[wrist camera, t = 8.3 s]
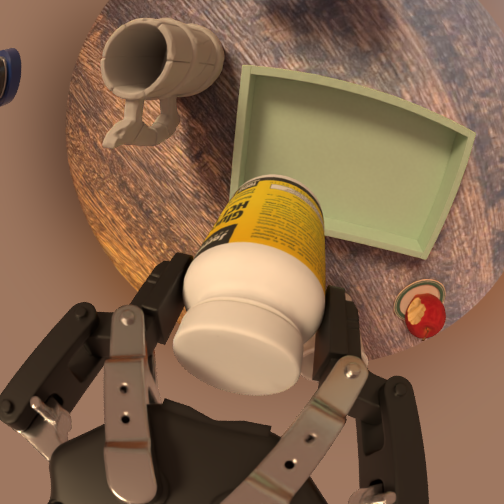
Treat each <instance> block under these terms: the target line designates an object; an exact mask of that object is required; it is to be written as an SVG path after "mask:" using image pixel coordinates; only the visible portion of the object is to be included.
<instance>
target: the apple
mask: <svg viewBox="0 0 504 504" xmlns="http://www.w3.org/2000/svg"><path fill="white" fill-rule="evenodd" d="M445 295H446V292H445V288H444V286H443V285H442V284H441V283H440V282H439V281H436V280H433V279H423V280H419V281H416V282H414V283H412V284H410V285H408V286H407V287H405V288H404V289H403V290H402V291H401V292H400V293H399V294H398V296H397V297H396V299H395V302H394V312H395V314H396V315H397V316H398V317H399V318H400V319H402V320H405V322H406V325H407V328H408V330H409V331H410V333H411V334H413V335H414V336H415V337H418V338H423V339H422V341H424V340H425V338H429V337H432V336H434V335H436V334H437V333H438V332H439V331H440V330H441V329H442V327H443V326H444V323H445V319H446V313H445V308H444V306H443V302H444V300H445Z"/></svg>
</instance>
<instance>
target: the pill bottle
mask: <svg viewBox="0 0 504 504" xmlns="http://www.w3.org/2000/svg"><path fill="white" fill-rule="evenodd" d="M182 295H183V301H184V305H185V308H186V311H187V313H186V314H185V315H184V317H183V319H182V322H181V324H180V326H179V329H178V331H177V333H176V335H175V337H174V340H173V351H174V354H175V356H176V358H177V360H178V362H179V363H180V364H181V365H182V366H183V367H184V368H185V369H186V370H187V371H188V372H189V373H190V374H192V375H193V376H195V377H196V378H198V379H200V380H201V381H203V382H205V383H207V384H209V385H211V386H213V387H216V388H219V389H222V390H225V391H229V392H233V393H239V394H244V395H270V394H275V393H279V392H283V391H285V390H287V389H289V388H290V387H292V386H293V385H294V384H295V383H296V382H297V381H298V379H299V377H300V373H301V367H302V359H303V350H304V345H303V344H305V343H306V342H307V341H309V340H310V339H311V338H312V337H313V335H314V334H315V333H316V332H317V330H318V328H319V327H320V325H321V322H322V319H323V316H324V310H325V233H324V217H323V211H322V208H321V205H320V203H319V201H318V199H317V198H316V196H315V195H314V194H313V192H312V191H311V190H310V189H309V188H308V187H306V186H305V185H304V184H302V183H301V182H299V181H297V180H295V179H293V178H290V177H287V176H283V175H276V174H269V175H262V176H259V177H256V178H253V179H251V180H249V181H247V182H246V183H244V184H243V185H242V186H241V187H240V188H239V189H238V190H237V191H236V192H235V193H234V195H233V196H232V197H231V199H230V201H229V202H228V203H227V205H226V207H225V209H224V210H223V212H222V213H221V215H220V217H219V218H218V220H217V222H216V223H215V225H214V227H213V228H212V230H211V231H210V233H209V234H208V236H207V237H206V239H205V241H204V242H203V244H202V246H201V248H200V249H199V251H198V252H197V254H196V256H195V257H194V259H193V261H192V262H191V264H190V266H189V267H188V270H187V273H186V275H185V278H184V281H183V289H182Z"/></svg>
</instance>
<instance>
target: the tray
mask: <svg viewBox="0 0 504 504" xmlns="http://www.w3.org/2000/svg"><path fill="white" fill-rule="evenodd" d="M475 136H476V133H475V132H473V131H471V130H470V129H468V128H466V127H464V126H462V125H460V124H458V123H456V122H454V121H452V120H450V119H448V118H446V117H444V116H442V115H439V114H437V113H435V112H433V111H430V110H428V109H426V108H423V107H421V106H419V105H416V104H414V103H411V102H409V101H406V100H403V99H401V98H398V97H395V96H392V95H389V94H386V93H383V92H380V91H377V90H374V89H371V88H367V87H364V86H361V85H357V84H353V83H350V82H346V81H342V80H338V79H333V78H329V77H324V76H320V75H315V74H310V73H304V72H299V71H292V70H286V69H279V68H271V67H262V66H251V65H242V72H241V81H240V90H239V99H238V109H237V119H236V129H235V139H234V150H233V161H232V172H231V184H230V197H229V201H230V199H231V197H232V196H233V195H234V193H235V192H236V191H237V190H238V189H239V188H240V187H241V186H242V185H243V184H244V183H246V182H247V181H249V180H251V179H253V178H256V177H259V176H262V175H269V174H276V175H283V176H287V177H290V178H293V179H295V180H297V181H299V182H301V183H302V184H304V185H305V186H306V187H308V188H309V189H310V190H311V191H312V192H313V194H314V195H315V196H316V198H317V199H318V201H319V203H320V205H321V208H322V211H323V217H324V233H325V236H330V237H334V238H339V239H343V240H348V241H352V242H356V243H360V244H365V245H369V246H373V247H377V248H381V249H385V250H390V251H394V252H398V253H402V254H406V255H410V256H413V257H417V258H421V259H425V260H426V259H427V257H428V255H429V253H430V251H431V249H432V247H433V245H434V243H435V241H436V239H437V237H438V235H439V233H440V231H441V229H442V227H443V224H444V222H445V220H446V218H447V215H448V213H449V211H450V208H451V206H452V203H453V201H454V198H455V196H456V193H457V191H458V188H459V186H460V183H461V180H462V177H463V174H464V172H465V169H466V166H467V163H468V159H469V156H470V153H471V150H472V146H473V143H474V139H475Z"/></svg>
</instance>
